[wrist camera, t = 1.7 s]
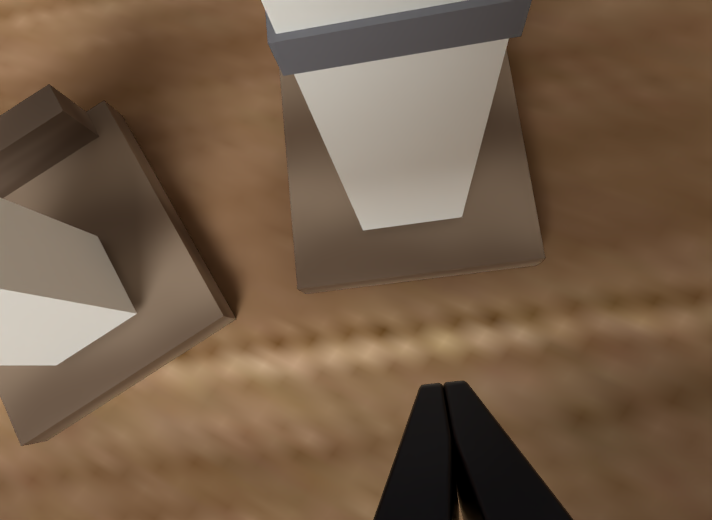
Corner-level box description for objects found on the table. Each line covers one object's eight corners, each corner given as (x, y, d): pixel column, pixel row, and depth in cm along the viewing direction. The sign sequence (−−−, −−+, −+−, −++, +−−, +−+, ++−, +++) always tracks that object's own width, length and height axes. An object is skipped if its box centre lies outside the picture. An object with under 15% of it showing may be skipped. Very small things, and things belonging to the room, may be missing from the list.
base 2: (537, 265, 22) (561, 243, 18) (305, 294, 23) (281, 279, 19) (492, 16, 25) (504, -50, 21) (284, 51, 26) (260, -5, 22)
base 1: (235, 319, 23) (198, 309, 19) (46, 441, 23) (-30, 456, 19) (121, 115, 26) (69, 71, 22) (-48, 224, 26) (-131, 199, 22)
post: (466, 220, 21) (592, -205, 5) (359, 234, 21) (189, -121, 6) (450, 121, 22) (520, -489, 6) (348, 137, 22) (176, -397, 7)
